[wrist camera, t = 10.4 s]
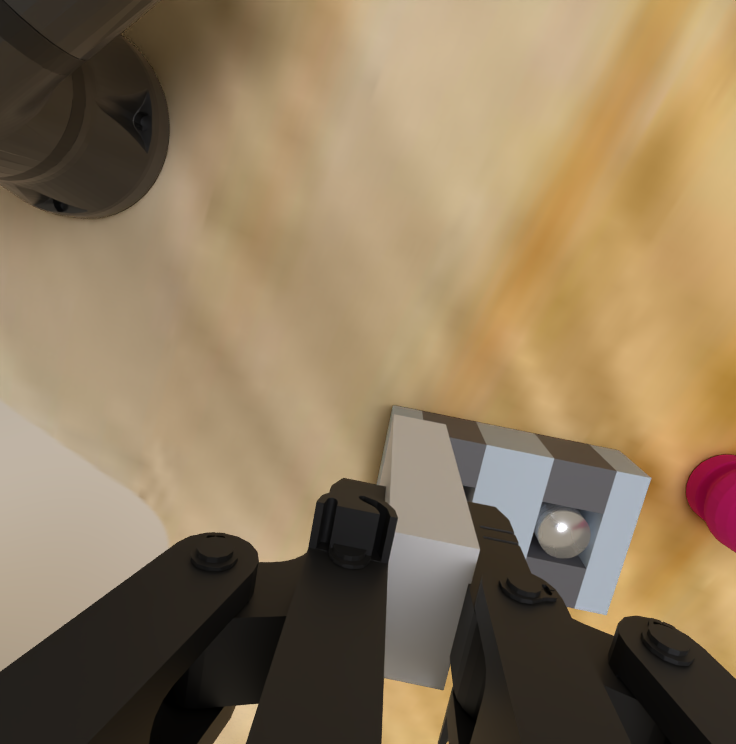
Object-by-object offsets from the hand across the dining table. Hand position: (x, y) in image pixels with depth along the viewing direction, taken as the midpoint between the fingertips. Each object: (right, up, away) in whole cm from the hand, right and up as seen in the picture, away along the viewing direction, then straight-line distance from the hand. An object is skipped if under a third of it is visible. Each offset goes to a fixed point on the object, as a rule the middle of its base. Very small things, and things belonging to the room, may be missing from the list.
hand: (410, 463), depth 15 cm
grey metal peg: (+15, -9, +32) cm, 36 cm away
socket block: (+10, -8, +32) cm, 34 cm away
